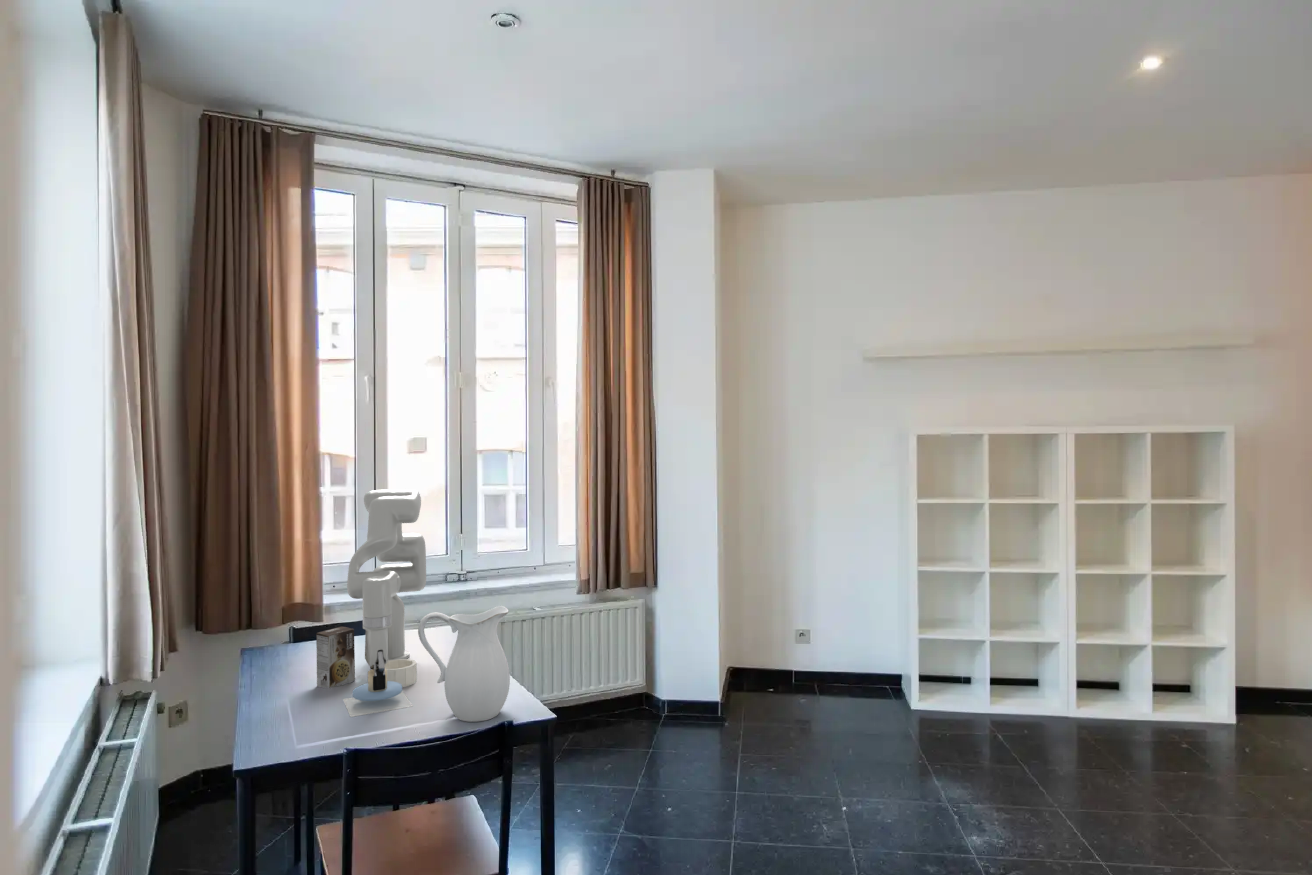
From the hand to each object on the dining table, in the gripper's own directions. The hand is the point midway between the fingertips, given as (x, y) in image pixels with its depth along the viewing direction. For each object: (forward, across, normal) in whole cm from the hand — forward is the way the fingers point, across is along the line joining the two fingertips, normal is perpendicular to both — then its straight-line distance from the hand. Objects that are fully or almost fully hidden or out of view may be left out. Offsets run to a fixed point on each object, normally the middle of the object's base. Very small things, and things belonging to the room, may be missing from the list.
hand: (377, 685), depth 211 cm
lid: (+2, 0, 0) cm, 2 cm away
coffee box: (+6, -25, -8) cm, 27 cm away
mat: (+5, +1, 0) cm, 5 cm away
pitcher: (+5, +21, +19) cm, 28 cm away
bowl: (+5, -15, +8) cm, 18 cm away
